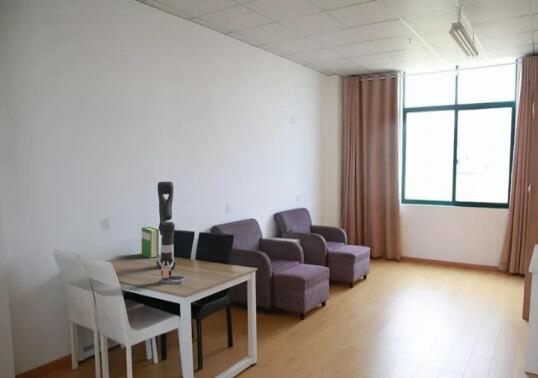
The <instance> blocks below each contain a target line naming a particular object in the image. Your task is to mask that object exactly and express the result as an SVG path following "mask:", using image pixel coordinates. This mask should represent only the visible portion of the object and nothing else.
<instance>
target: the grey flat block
mask: <svg viewBox="0 0 538 378" xmlns="http://www.w3.org/2000/svg"><path fill="white" fill-rule="evenodd" d="M161 276H162V275H161ZM158 282H159V283H158V284H166V285H167V284H168V285H169V284H171V285H172V284H174V285H182V284H183V282H185V276H184V275H171V276H170V277H169V278H163V276H162V277H161V278H160V279H159V281H158Z"/></svg>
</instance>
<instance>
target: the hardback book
mask: <svg viewBox="0 0 538 378" xmlns="http://www.w3.org/2000/svg"><path fill="white" fill-rule="evenodd" d="M159 235H160V231H159V228H154V227H151V226H147V227H146V226H144V227H141V256H144V257H146V258H148V257H149V259H152V258H159V251H160V250H159V249H160V248H159V238H160V237H159Z"/></svg>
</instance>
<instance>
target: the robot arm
mask: <svg viewBox="0 0 538 378" xmlns="http://www.w3.org/2000/svg"><path fill="white" fill-rule="evenodd" d="M156 189H157V196H158V213H159V224H158V230H159V235H160V236H161V240H160V241H161V244H160V245H161V246H160V259H159V260H157V261H155V263H156V265H157V270H159V271H161V273H160V275H161V276H163V267H164V266H168V267H169V276H172V271H173V270H174V269H175V267H176V266H177V263H178V262H177V260H175V259H174V258H175V256H174V254H175V252H174V247H175V246H174V245H175V244H174V243H175V242H174V241H175V238H174V237H175V236H174V235H175V227H176V225H175V223H174V222H173V221H171V220H172V219H173V209H172V207H173V199H174V183H173V182H172V181H159V182H157V188H156ZM164 195H168V197H167V198H166V197H165V196H164Z"/></svg>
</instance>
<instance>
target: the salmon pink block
mask: <svg viewBox="0 0 538 378" xmlns="http://www.w3.org/2000/svg"><path fill="white" fill-rule="evenodd" d="M169 277H170V276H169V267H168V266H164V267H163V278H169Z"/></svg>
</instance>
